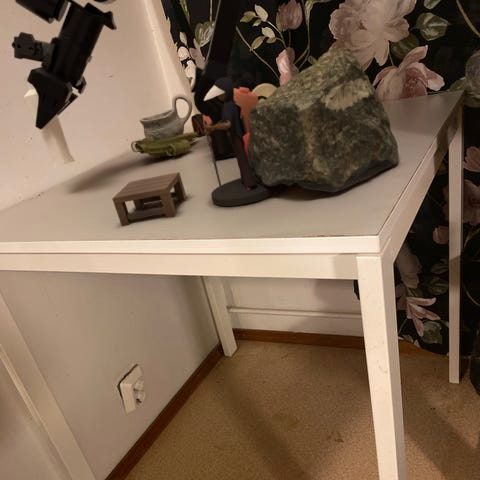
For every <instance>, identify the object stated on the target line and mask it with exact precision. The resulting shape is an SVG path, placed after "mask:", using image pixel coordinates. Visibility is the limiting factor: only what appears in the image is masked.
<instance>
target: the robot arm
mask: <svg viewBox="0 0 480 480" xmlns="http://www.w3.org/2000/svg"><path fill="white" fill-rule="evenodd" d="M92 1H93V2H95V3H98V4H101V5H111V4H114V3H115V2H116V1H117V0H92ZM243 1H244V0H219V1H218V5H217V10H216V14H215V20H214V25H213V29H212V34H211V39H210V43H209V47H208V52H207V56H206V59H205V62H204V64H203V66H202V67H201V66H198V65H195V67H194V80H193V83H192V84H191V87H190V93H191V94H193V97H192V98H193V102H194V103H193V104H194V107H195V108H196V110H197V111H198V113H199V114H203V115H205V116H209V118H210V119H211V121H212V122H210V124H209V125H211V126H213V125H216V124H217V123H218V122H219V121H221V120H222V106H223V104H224V103H225V101H221V100H220V99H219V97H218V96H215V97H213V98H211V99H208V100H206V101H204V98H205V96H206V95H207V93H208V92H209V91H210V89H211V88H212V87H213V86H214V83H215V82H216V81H217V80H218V79H220V78H224V77H225V78H229V63H230V62H229V61H230V58H231V54H232V53H231V52H232V49H233V44H234V40H235V36H236V31H237V27H238V23H239V22H238V21H239V18H240V13H241V9H242V5H243ZM14 2H15V3H16V4H17V5H18V6H20V7H22V8H23V9H25V10H27V11H28V12H30V13H31V14H32V15H34V16H36V17H37V18H39V19H41V20H42V21H44V22H46V23H47V24H49V25H51V24H53V23H54V21H56V22H58V23H60V22H61V21H62V19H63V18H64V20H63V22H62V24H61V27H60V30H59V32H58V34H57V36H54V37H52V38H51V40H50V42H48V41H44V40H38V39H35V37H34V34H33V33H28V32H25V31H20V32H19V34H18V36H16V35H15V36H13V42H12V43H11V47H12V48H13V58H14V59H17V60H23V59H25V60H29V61H34V62H38V63H41V64H40V67H36V68H33V69H30V72H29V74H28V76H27V77H28V79H27V81H28V82H29V83H30V84H32V85H33V87H34V88H35V90H36V92H37V94H38V97H39V98H38V108H37V116H36V122H35V128H36V129H38V128H39V129H43V128H44V127H45V126H46V125H47V124H48V123H49V122H50V121H51V120H52V119H53V118H54V117H55V116H56V115H58V116H60V115H61V114H62V113H63V112H64V111H65V110H66V109H67V108H68V107H70V106H71V105H72V104H73V102H75V101H76V100H77V99H78V98H79V96H78V94H79V95H82V94H83V93H84V92H85V89H86V87H87V85H88V84H87V81H86V77H85V76H84V73H85V71H86V69H87V66H88V64H89V63H91V61H92V59H93V56H92V54H93V53H94V50H95V47H96V46H97V43H98V40H99V38H100V35H101V33H102V31H103V29H104V27H106V28H108V29H109V30H110V31H111V30H112V31H117V28H118V27H117V25H116V22H115V20H114V12H113V11H112V10H108V11H105V12H104V11H103V10H101V9H100V8H98V7H97V6H95V5H94V4H92V3H91V2H87V3H86V4H85V5H84V6H83V5H81V4H80V3H78V2H77V1H76V0H14ZM69 4H70V5H69ZM68 5H69V7H68ZM67 8H68V10H67ZM65 14H66V16H65ZM64 16H65V17H64ZM74 89H75V90H77V93H78V94H76V93H75V92H73V91H74ZM235 104H236V107H237V110H238V117H239V122H240V127H241V131H242V135H243V136H244V135H246V134H247V131H246V126H245V122H244V117H243V115H241V107H240V106H239V105H238V103H237V102H236V101H235ZM39 129H38V130H39ZM210 130H211V129H210ZM210 137H211V139H212V142H211V143H212V148H213V153H214V157H215V161H218V160H224V159H229V158H233V157H236V155H235V152H234V150H233V148H232V146H231V143H230V140H228V138H227V132H226V131H225V130H222V129H218V130H216V131H213V132H212V133H211V134H210Z"/></svg>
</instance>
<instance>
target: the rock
mask: <svg viewBox="0 0 480 480" xmlns="http://www.w3.org/2000/svg"><path fill="white" fill-rule="evenodd" d="M362 66H363V65H362V64H361V63H360V62H359V61H358V58H357V57H356V56H355V55H354V53H353V51H352V50H351V49H350V48H349V46H345V47H343V46H341V45H338V46H335V47H332V48H331V49H329V50H327V51H326V52H325V53H323V54H322V55H321V56H320V57H318V60H317V61H316V62H315V63H313V65H310V66H309V67H306V68H305V69H303V70H302V71H300V72H299V73H298V74H295V75H293V76H291V77H290V78H289V79H288V80H287V81H285V83H282V84H281V85H280V86H278V87H276V88H277V89H276V90H275V91H274V92H273V93H272V94H271V95H270V96H269V97H268V98H267V99H265V100H264V101H262V102H261V103H259V104H258V105H256V106H255V107H252V108H251V110H250V112H249V116H248V122H249V126H250V131H249V132H250V135H249V137H248V145H247V150H248V161H249V164H250V167H251V171H252V173H253V175H254V177H255V179H256V181H258V182H259V183H260V184H262V185H265V186H276V185H278V184H280V183H282V185H286V186H292V185H293V184H297V185H299V186H300V187H302V189H307V190H315V191H323V192H328V193H335V192H336V193H337V192H340V191H342V190H344V189H346V188H347V189H348V188H349V187H351V186H353V185H355V184H357V183H360V182H363V181H366V180H367V179H369V178H371V177H372V176H375V175H377V174H378V173H380V172H382V171H385V170H387V168H390V167H391V166H394V165H396V164H398V161H399V155H400V153H399V147H398V142H397V140H396V137H395V135H394V134H393V132H392V129H391V121H390V118H389V116H388V114H387V112H386V111H385V107H384V105H383V103H382V100H381V97H380V95H379V93H378V92H377V90H376V88H375V87H374V85H373V84H372V83H371V81H370V77H369V76H368V75H367V74H366V72H365V70H364V69H363V67H362Z"/></svg>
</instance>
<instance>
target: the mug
mask: <svg viewBox="0 0 480 480" xmlns="http://www.w3.org/2000/svg"><path fill="white" fill-rule="evenodd" d="M178 100H183V101H184V102H186V103H187V105H188V111H187V114H186V116H184V117H180V115H179V113H178V109H177V101H178ZM171 106H172V107H171V108H170V109H168V110H165V111H163V112H160V113H155V114H152V115H148V116H145V117H140V118H139V120H138V121H139V122H140V123H141V125H142V127H143V135H144V138H149V137H152V138H153V139H154V140H157V139H161V138H166V137H170V136H174V135H179V134H185V133H184V132H185V124H186V123H187V122H188V121H189V119H190V118H191V116H192V113H193V102H192V99H190V97H189V96H188V95H186V94H183V93H178V94H176V95H174V96H173V97H172V100H171Z"/></svg>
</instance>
